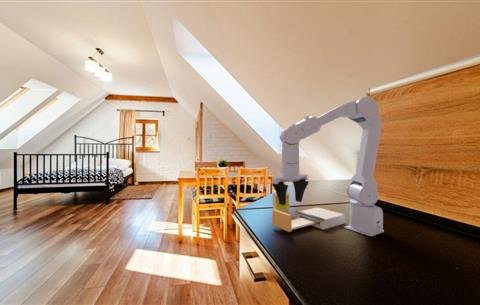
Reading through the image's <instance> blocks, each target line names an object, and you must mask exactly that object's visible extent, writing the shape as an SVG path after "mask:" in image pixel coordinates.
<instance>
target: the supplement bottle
mask: <svg viewBox="0 0 480 305" xmlns="http://www.w3.org/2000/svg"><path fill="white" fill-rule="evenodd" d="M285 185H287V184H286V183H285ZM274 209H275V210H278V211H281V212H284V213H287V214H290V192H289V191H288V190H287V192H286V203H285V205H281V204H279V200H278V196H277V193H276V191H275V189H274V190H273V192H272V210H274Z"/></svg>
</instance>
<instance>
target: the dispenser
mask: <svg viewBox="0 0 480 305" xmlns="http://www.w3.org/2000/svg"><path fill="white" fill-rule="evenodd" d="M295 214H296V219H299V218H303V217H307V218H310V219H313V220H316V221H319V222H320V223H316V224H312V225H311V227H315V228H317V229H320V230H327V229H330V228H333V227H337V226H340V225H343V224H345V221H346V220H345V218H346V217H345V216H346V214H345V213H341V212H337V211H334V210H333V211H332V210H330V209H326V208H323V207H313V208H308V209H303V210H295Z"/></svg>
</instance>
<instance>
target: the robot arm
mask: <svg viewBox="0 0 480 305" xmlns="http://www.w3.org/2000/svg"><path fill="white" fill-rule="evenodd" d="M380 106H381V105H380V104H379V103H378V102H377V101H376V100H375V99H374V98H373V97H371V96H364V97H361V98H360V99H354V100H352V101H349V102H345V103H343V104H341V105H338V106H336V107H334V108H332V109H330V110H329V111H326V112H325V113H323V114H321V115H320V116H317V117H316V116H313V115H310V116H309V115H306V116H305V117H304V118H303V119H302V120H300V121H298V122H294V123H292V124H291V125H290V126H289V127H286V128H284V129H283V130H281V132H280V135H279V139H280V141H281V142H282V143H281V174H280V175H279V176H274V177H273V176H272V178H271V184H272V187H273V189H274V190H275V191H276V193H277V196H278V200H279V204H281V205H285V203H286V192H287V191H288V188H289V184H286V183H291V182H292V184H293V188H294V197H295V198H294V199H295V202H299V203H302V201H303V197H304V194H305V191H306V189H307V187H308V185H309V179H308V174H306V173H305V174H303V173H302V174H301V173H300V142H301V140H304V139H306V138H308V137H310V136H312V135H314V134H316V133H318V132H320V131H321V128H322V126H323V125H325V124H328V123H330V122H333V121H334V120H336V119H339V118H348V119H349V120H350V121H353V122H355V123H356V124H358V126H360V127H361V129H362V134H361V138H360V139H361V141H360V145H359V151H358V157H357V164H356V168H355V174H354V175H352V177H351V178H350V182H349V184H348V186H347V187H346V195H347V196H348V197H349V224H348V225H345V226H344V227H343V228H344V229H346V230H350V231H353V232H356V233H359V234H362V235H366V236H368V237H369V236H370V237H374V236H377V235H379V234H382V233H385V230H384V212H383V209H382V208H381V207H379V206H377V205H375V204H376V203H377V202H378V200H379V196H380V195H379V191H378V185H379V184H378V182H377V180H376V178H375V177H374V175H375V169H376V164H377V158H378V153H379V146H380V140H381V134H382V128H383V122H382V118H381V114H380ZM285 184H286V185H285Z"/></svg>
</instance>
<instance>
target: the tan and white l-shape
mask: <svg viewBox="0 0 480 305" xmlns="http://www.w3.org/2000/svg"><path fill="white" fill-rule="evenodd" d="M271 214H272V218H271V222H272V224H271V225H272V226H274V227H276V228H278V229H281V230H283V231H286V232H288V233H290V232H292V231H293V230H297V229H300V228H305V227H308V226H312V224H316V223H320V222H319V221H316V220H313V219H310V218H307V217H303V218H299V219H297V218H295V219H292V217H293V215H292V214H290V213H289V214H287V213H284V212H281V211H278V210H275V209H274V210H273V209H272V212H271Z"/></svg>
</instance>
